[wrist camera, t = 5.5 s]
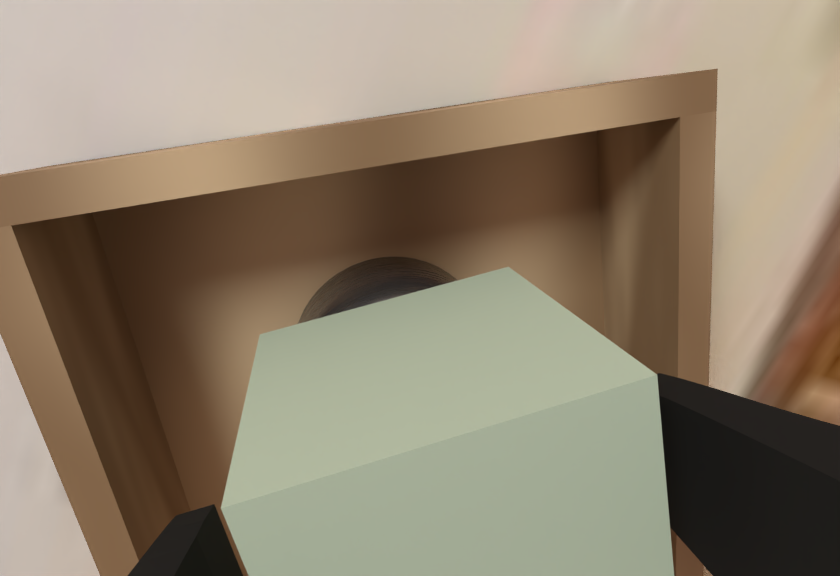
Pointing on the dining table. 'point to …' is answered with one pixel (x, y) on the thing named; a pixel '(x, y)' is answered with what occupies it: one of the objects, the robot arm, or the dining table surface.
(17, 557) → the dining table surface
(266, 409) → the pale green cube
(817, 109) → the dining table surface
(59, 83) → the dining table surface
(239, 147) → the wooden tray
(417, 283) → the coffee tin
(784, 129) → the dining table surface
